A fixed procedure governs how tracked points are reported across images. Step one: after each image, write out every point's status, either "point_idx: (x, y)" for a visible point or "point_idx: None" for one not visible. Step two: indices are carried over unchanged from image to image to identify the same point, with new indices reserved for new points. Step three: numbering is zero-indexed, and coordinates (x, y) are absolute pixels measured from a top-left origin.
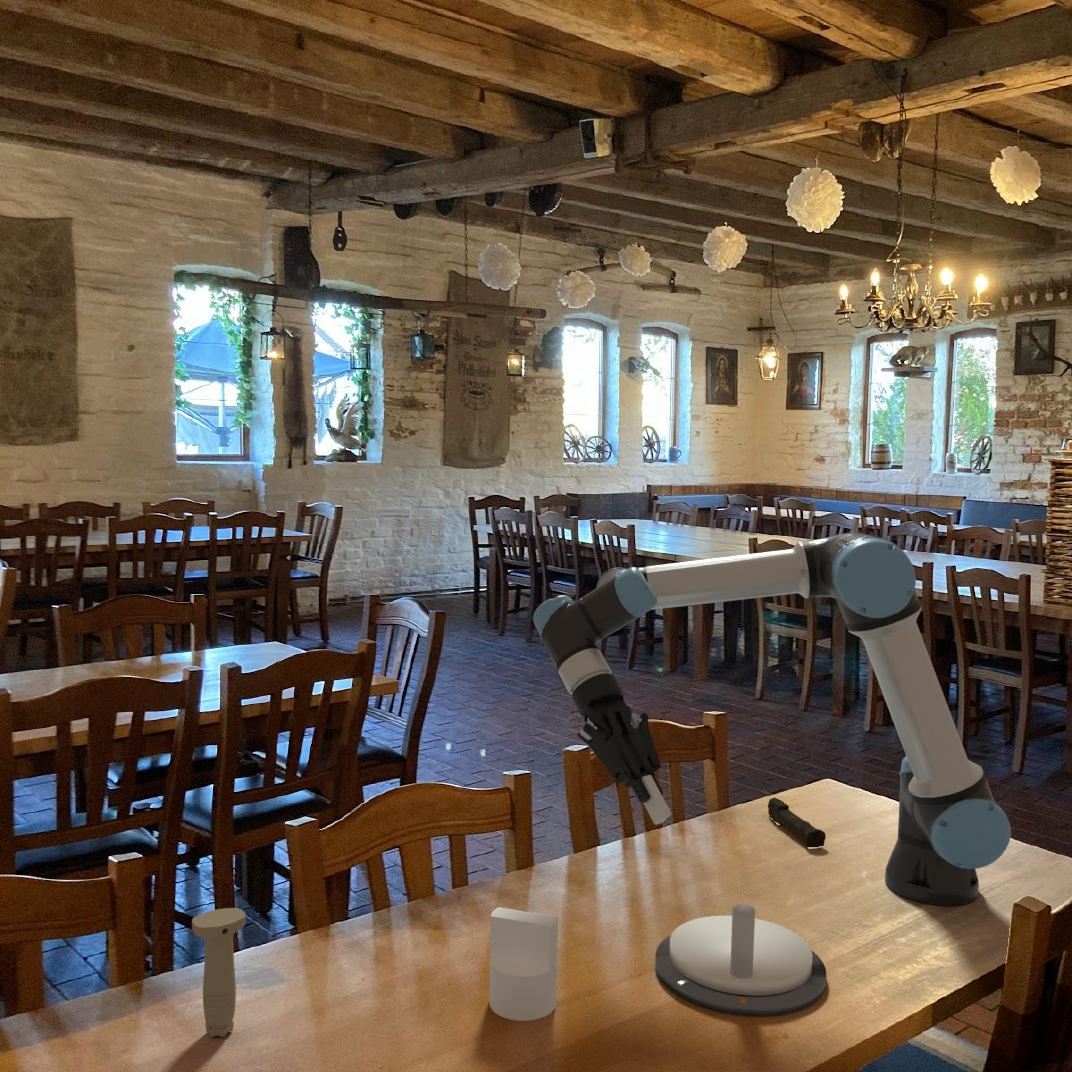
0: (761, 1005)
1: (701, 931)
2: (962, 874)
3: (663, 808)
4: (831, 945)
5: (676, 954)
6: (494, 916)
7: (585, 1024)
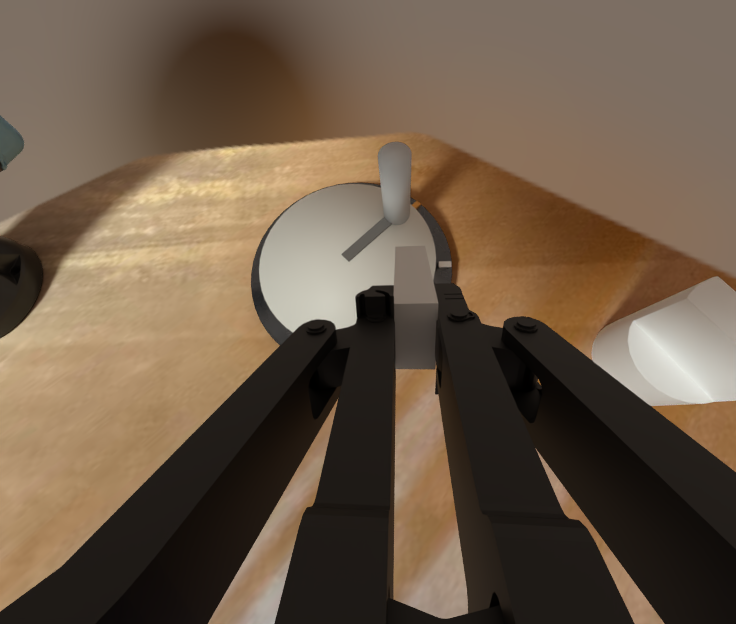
0: None
1: (354, 313)
2: None
3: (414, 253)
4: (216, 260)
5: None
6: None
7: (586, 281)
